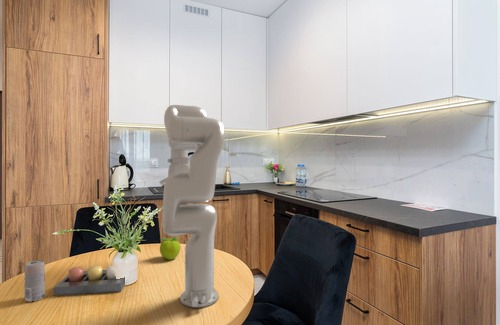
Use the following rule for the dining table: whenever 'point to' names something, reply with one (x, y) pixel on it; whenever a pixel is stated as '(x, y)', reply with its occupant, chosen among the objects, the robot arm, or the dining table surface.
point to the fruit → (170, 248)
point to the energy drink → (34, 280)
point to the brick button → (76, 274)
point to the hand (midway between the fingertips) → (179, 199)
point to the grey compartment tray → (89, 285)
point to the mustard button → (95, 273)
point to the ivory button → (111, 273)
